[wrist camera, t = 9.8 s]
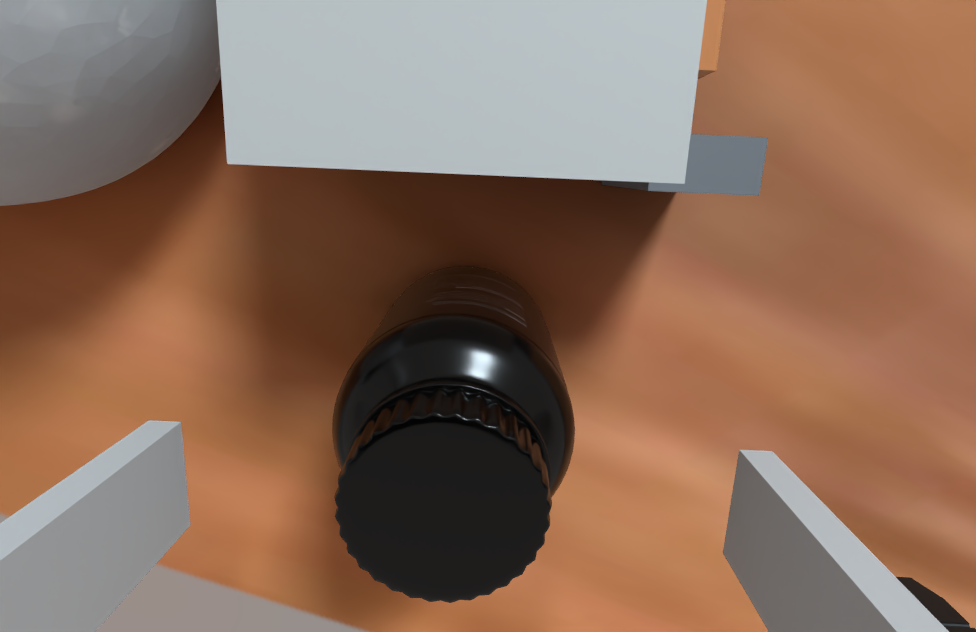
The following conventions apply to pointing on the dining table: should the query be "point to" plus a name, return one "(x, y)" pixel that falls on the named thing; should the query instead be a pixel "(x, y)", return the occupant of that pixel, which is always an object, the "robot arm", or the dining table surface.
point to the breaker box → (478, 90)
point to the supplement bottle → (452, 438)
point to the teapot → (97, 89)
